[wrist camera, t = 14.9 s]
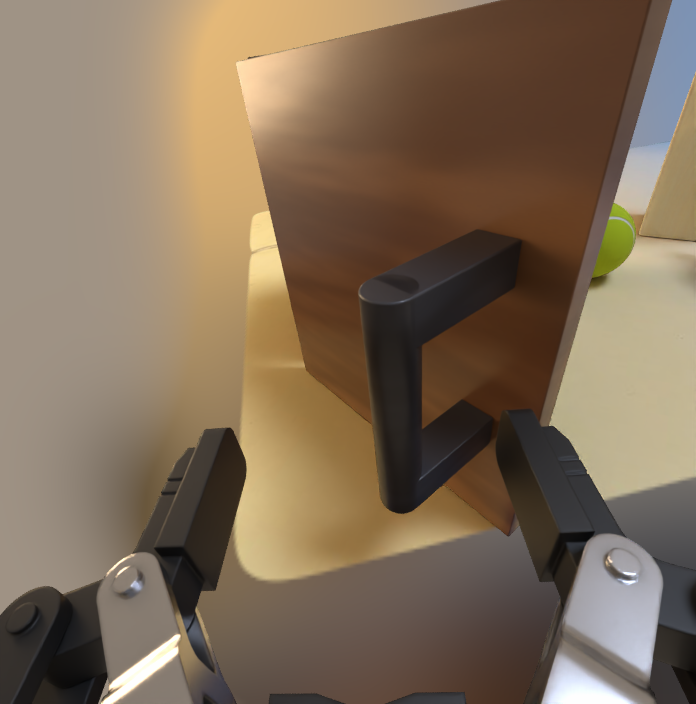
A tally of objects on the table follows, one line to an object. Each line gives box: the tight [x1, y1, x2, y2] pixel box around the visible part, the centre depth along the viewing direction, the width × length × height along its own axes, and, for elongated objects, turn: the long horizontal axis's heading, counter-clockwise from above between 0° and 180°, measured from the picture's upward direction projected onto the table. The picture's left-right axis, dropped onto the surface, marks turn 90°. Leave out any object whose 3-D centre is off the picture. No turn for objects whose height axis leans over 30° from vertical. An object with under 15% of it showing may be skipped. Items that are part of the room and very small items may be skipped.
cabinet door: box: [236, 0, 672, 536], centre depth 18 cm, size 6×18×20 cm, turn 38°
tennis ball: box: [592, 203, 636, 278], centre depth 36 cm, size 7×7×7 cm
